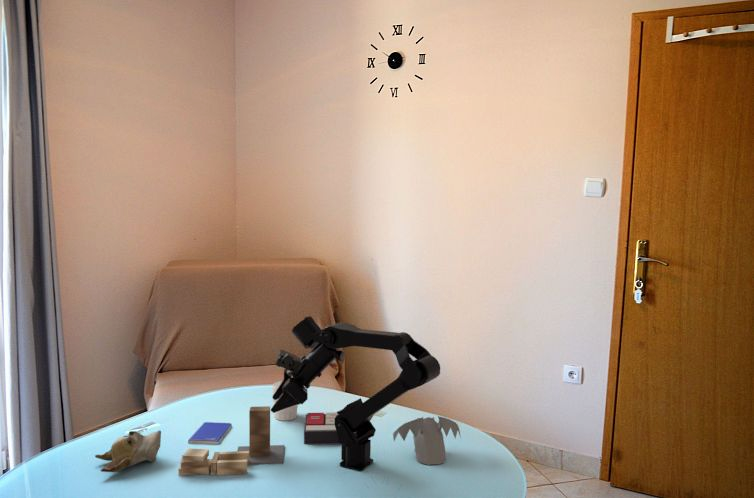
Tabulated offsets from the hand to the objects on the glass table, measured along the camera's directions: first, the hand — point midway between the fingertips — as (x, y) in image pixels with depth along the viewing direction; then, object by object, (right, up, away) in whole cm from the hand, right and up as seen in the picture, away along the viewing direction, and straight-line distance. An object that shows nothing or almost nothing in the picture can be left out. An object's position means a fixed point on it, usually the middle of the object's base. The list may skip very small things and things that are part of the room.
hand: (272, 404), depth 152 cm
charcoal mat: (-3, -13, +1) cm, 14 cm away
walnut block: (-3, -13, +1) cm, 13 cm away
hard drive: (-20, -13, +14) cm, 27 cm away
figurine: (+40, -14, +3) cm, 43 cm away
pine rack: (-8, -14, -7) cm, 18 cm away
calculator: (+12, -13, +16) cm, 24 cm away
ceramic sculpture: (-34, -14, -5) cm, 37 cm away
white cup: (-1, -11, +28) cm, 30 cm away
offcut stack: (-17, -14, -8) cm, 23 cm away
